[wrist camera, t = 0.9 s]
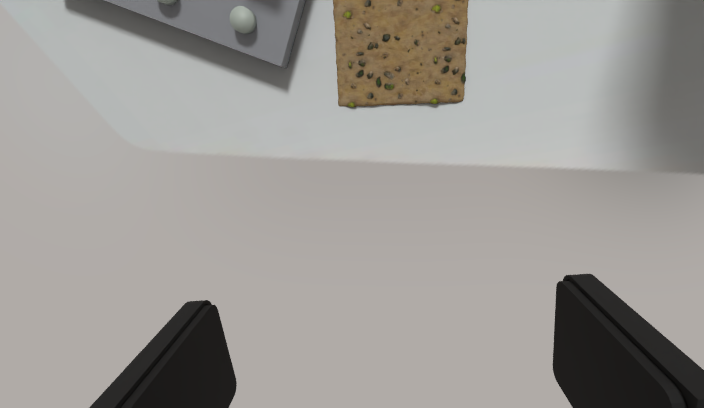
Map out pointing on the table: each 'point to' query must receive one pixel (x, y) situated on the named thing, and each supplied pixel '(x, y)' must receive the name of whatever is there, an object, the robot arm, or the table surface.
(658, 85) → the table surface
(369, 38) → the seeded cracker
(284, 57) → the breaker panel
